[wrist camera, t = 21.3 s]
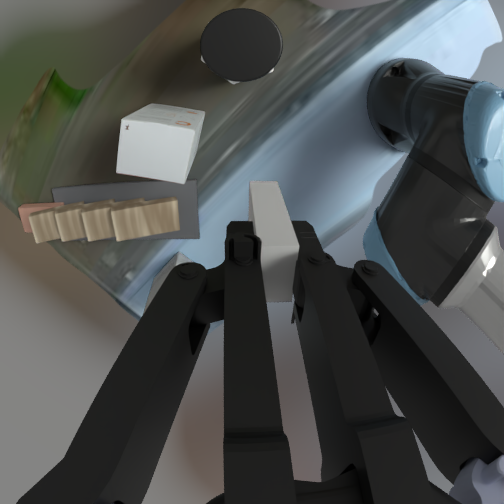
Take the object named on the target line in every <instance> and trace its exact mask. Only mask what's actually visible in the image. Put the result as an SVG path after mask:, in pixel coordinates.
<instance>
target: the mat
mask: <svg viewBox="0 0 504 504" xmlns="http://www.w3.org/2000/svg"><path fill="white" fill-rule="evenodd" d="M52 193H53V198H54V202H55V203H58V202H64V205H67V204H72V203H77V202H81V201H84V204H88V203H93V202H98V201H103V200H109V199H115V202H120V201H126V200H132V199H138V198H144V199H145V201H150V200H156V199H162V198H168V197H175V196H176V198H177V200H178V213H179V224H180V230H177V231H172V232H166V233H160V234H155V235H149V236H144V237H138V238H133V239H199V237H200V236H199V219H198V200H197V179H186V182H185V184H179V183H173V182H167V181H161V180H152V181H132V182H116V183H102V184H89V185H77V186H67V187H57V188H53V189H52ZM74 240H88V239H87V237H84V238H79V239H74ZM100 240H116V237H110V238H105V239H100ZM128 240H131V239H128ZM69 241H72V240H69Z"/></svg>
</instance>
